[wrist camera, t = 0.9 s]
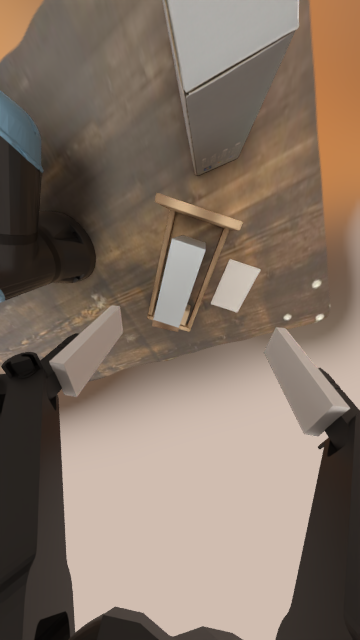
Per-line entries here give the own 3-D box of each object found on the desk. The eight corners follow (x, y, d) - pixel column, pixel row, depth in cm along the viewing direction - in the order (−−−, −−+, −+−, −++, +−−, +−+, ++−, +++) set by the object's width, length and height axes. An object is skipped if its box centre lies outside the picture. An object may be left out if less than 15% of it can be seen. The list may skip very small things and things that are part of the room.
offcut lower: (158, 308, 44) (154, 315, 40) (161, 295, 41) (157, 301, 38) (186, 317, 44) (184, 325, 40) (190, 305, 42) (189, 312, 38)
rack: (149, 314, 45) (132, 341, 34) (172, 204, 31) (156, 192, 21) (190, 328, 45) (185, 357, 35) (230, 223, 32) (242, 222, 21)
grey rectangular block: (167, 294, 41) (153, 319, 30) (183, 234, 34) (172, 238, 23) (186, 300, 41) (178, 327, 30) (205, 242, 34) (205, 249, 23)
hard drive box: (239, 158, 27) (300, 37, 10) (195, 177, 29) (180, 104, 12) (224, -4, 20) (338, -1379, 3) (167, 36, 22) (33, -639, 5)
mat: (210, 302, 40) (210, 303, 40) (229, 258, 35) (229, 259, 34) (236, 311, 40) (237, 312, 40) (259, 268, 35) (260, 269, 34)
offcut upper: (156, 317, 40) (152, 325, 37) (158, 304, 38) (153, 312, 35) (180, 323, 40) (177, 331, 37) (182, 310, 38) (180, 318, 35)
